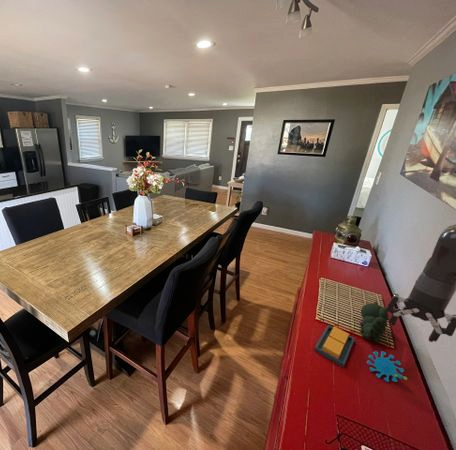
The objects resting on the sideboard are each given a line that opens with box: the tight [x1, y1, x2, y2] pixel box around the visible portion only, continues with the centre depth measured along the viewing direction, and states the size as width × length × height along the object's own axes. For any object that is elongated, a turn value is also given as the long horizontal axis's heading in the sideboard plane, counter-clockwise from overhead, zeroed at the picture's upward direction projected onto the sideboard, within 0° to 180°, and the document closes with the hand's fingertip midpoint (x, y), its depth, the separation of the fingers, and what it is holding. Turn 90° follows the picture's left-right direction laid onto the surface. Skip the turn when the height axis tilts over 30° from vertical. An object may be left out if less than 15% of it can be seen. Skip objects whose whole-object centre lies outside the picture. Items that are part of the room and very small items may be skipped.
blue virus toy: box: [366, 350, 408, 383], centre depth 90 cm, size 11×6×10 cm
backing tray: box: [313, 324, 356, 368], centre depth 101 cm, size 10×19×2 cm, turn 132°
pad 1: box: [329, 326, 350, 345], centre depth 103 cm, size 6×8×3 cm
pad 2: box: [322, 336, 344, 359], centre depth 98 cm, size 6×8×3 cm
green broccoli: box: [359, 301, 389, 344], centre depth 106 cm, size 9×19×25 cm
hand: (410, 332), depth 76 cm, fingers open, 8 cm apart
